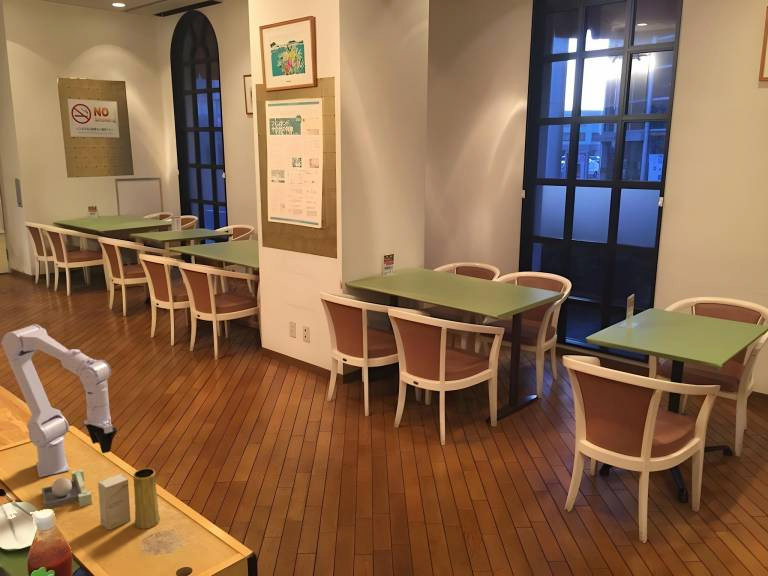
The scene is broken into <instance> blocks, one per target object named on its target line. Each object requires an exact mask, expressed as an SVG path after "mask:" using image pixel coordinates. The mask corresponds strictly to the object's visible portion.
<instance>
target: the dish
mask: <svg viewBox="0 0 768 576" xmlns="http://www.w3.org/2000/svg"><path fill="white" fill-rule="evenodd" d="M70 481H71V484H72V488H71V491H70V492H69V493H68V494H67V495H65V496H62V497H59V496H56V495H54V494H53V492H52V485H50V486H47V487H42V488H41V493H42V499H43V503H44V508H49V509H53V508H56V507H60V506H64V505H67V504H73V503H76V502H77V503H78V502H79V497H78V494H81V492H80V489H79V486H78V483H77V480H75V481H72V480H70Z"/></svg>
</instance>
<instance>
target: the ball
mask: <svg viewBox="0 0 768 576" xmlns="http://www.w3.org/2000/svg"><path fill="white" fill-rule="evenodd" d="M71 481H72V480H70V479H68V478H67V477H60V478H57V479H56V480H55V481H53V483H52V485H51V486H52V492H53V494H54V495H56V496H59V497H62V496H65V495H67V494H68V493H69V492H70V491H71V488H72V484H71Z"/></svg>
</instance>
